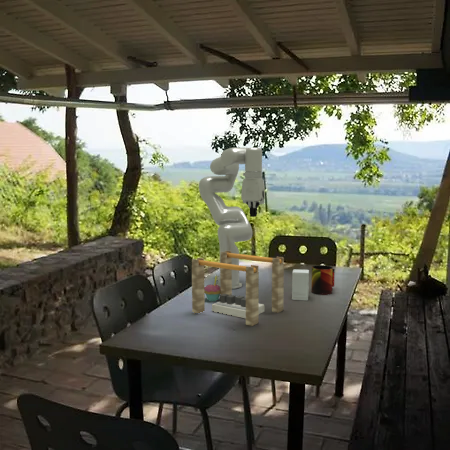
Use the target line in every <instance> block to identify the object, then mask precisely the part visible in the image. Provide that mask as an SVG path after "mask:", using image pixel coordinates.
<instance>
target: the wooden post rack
mask: <svg viewBox="0 0 450 450" xmlns="http://www.w3.org/2000/svg"><path fill="white" fill-rule="evenodd" d="M227 253H231V251H225V252H221V257H220V256H219V263H225V264H232V258H230V257H227ZM271 258H272V263H271V312H272V313H276V314H278V313H281V312H283V311H284V290H285V289H284V284H285V283H284V279H285V278H284V277H285V276H284V275H285V263H284V260H285V258H284V257H283V256H276V257H271ZM280 259H281V261H282V262H281V263H280ZM199 260H203V261H205V258H204V257H197V258H193V259H191V296H192V297H191V310H192V311H191V313H192V312H194V313H193V314H195V313H200V312H202V313H204V312H203V311H205V309H206V307H205V304H206V302H205V301H206V300H205V296H206V295H205V293H204V288H205V266H203V265H199ZM246 266H247V265H246ZM254 268H256V272H254ZM259 273H260V271H259V265H256V264H255V265H254V264H251V265H250V266H247V267H246V272H245V298H246V318H245V325H246V326H250V327H253V326H255V325H257V324H259V315H260V314H259V304H260V303H259V300H260V298H259V296H260V295H259V291H260V290H259V280H260V279H259V278H260V277H259ZM219 276H220V280H221V294H220V295H222V294H229V295H233V291H232V290H233V289H232V270H231V269H224V268H219ZM200 314H201V313H200Z"/></svg>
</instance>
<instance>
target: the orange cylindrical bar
mask: <svg viewBox="0 0 450 450" xmlns="http://www.w3.org/2000/svg"><path fill="white" fill-rule="evenodd" d="M227 257H230V258H238V259H239V260H247V261H255V262H263V263H269V264H272V258H273V257H267V256H266V257H265V256H259V255H250V254H249V255H248V254H244V253H243V254H242V253H239V254H235V253H227ZM281 262H282V261H281V259H280V263H281Z"/></svg>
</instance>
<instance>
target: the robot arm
mask: <svg viewBox="0 0 450 450" xmlns="http://www.w3.org/2000/svg"><path fill="white" fill-rule="evenodd" d="M209 165H210V166H209V168H210V171H211V172H212V173H213V174H214V175H215V176H214V175H212V176H211V175H210V176H205V177H202V178H201V179H200V181H199V183H198V191H199V194H200V198H201V199H202V201H203V202H204V203H205V205H206V206H207V208H208V210H209V212H210V214H211V217H212V219H213V221H214V223H215V224H216V225H217V226H219V227H217V228H218V229H217V238H218V243H219V258H220V257H221V252H225V251H231V253H235V254H240V250H239V248H238V246H237V245H236V243H238V242H239V243H240V242H247V241H249V240H251V239H252V238H253V229H252V226H251V223H250V221H249V219H248V218H247V215H246V214H245V211H244V209H242V208H241V207H239V206H228V205H226V203H225V201H224V200H223V198H222V197H221V196H219V195H218V194H217V193H228V192H230V191H232V190H233V187H234V185H235V182H236V179H237V176H238V174H239V170H240V165H244V168H245V169H244V172H243V173H242V176H243V177H244V178H242V184H241V194H240V195H241V196H240V197H241V201H242V203H243V204H245V205H246V206H248V208H249V217H251V218H255V217H257V215H258V208H259V207H260V205H263V204H265V200H266V199H265V198H266V193H265V192H266V191H265V182H264V181H265V180H264V179H263V150H262V149H261V147H229V148H227V149H224V150H223V151H222V152H221V154H220V156H219V157H217V158H214V159H213V160H212V161H211V163H210V164H209ZM232 264H233V265H240V259H238V258H232ZM213 281H215V277H214V280H213ZM216 285H218V286H220V287H221V280H220V275H217V279H216ZM242 286H243V283H242V282H240V271H238V270H232V290H237V289H240V288H242Z"/></svg>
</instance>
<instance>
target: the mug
mask: <svg viewBox="0 0 450 450" xmlns="http://www.w3.org/2000/svg"><path fill="white" fill-rule="evenodd" d="M335 270H336V269H335V268H333V267H332V266H330V265H322V264H321V265H313V266H311V280H310V281H311V289H310V291H311V293H312V294H314V295H318V296H328V294H329V295H331V294H332V293H333V288H334V287H335Z"/></svg>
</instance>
